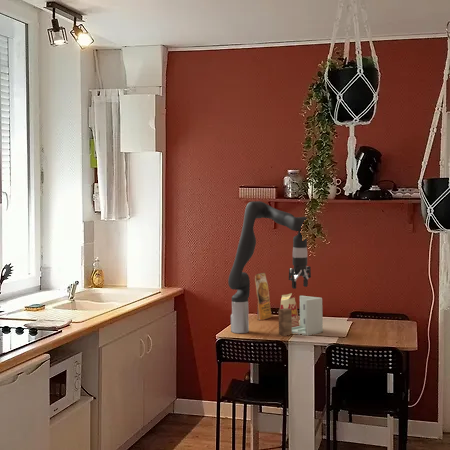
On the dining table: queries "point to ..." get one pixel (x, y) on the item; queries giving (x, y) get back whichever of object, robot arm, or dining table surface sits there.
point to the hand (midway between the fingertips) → (299, 287)
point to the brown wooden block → (285, 322)
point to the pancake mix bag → (262, 297)
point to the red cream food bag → (290, 303)
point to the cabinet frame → (310, 316)
